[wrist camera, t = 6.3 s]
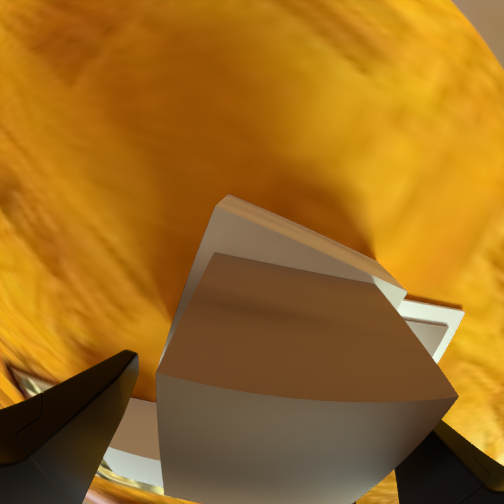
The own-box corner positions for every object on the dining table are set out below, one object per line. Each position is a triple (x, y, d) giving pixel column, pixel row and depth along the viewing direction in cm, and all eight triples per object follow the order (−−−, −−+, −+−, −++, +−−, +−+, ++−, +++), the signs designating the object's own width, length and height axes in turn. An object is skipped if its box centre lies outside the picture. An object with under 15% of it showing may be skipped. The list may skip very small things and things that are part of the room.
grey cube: (188, 442, 19) (176, 490, 14) (132, 430, 19) (114, 473, 14) (180, 406, 17) (163, 461, 13) (117, 393, 17) (92, 441, 13)
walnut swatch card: (415, 390, 16) (418, 395, 16) (333, 388, 16) (335, 393, 16) (462, 309, 14) (466, 313, 14) (378, 293, 14) (382, 297, 13)
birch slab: (303, 371, 16) (311, 420, 12) (178, 326, 15) (156, 371, 12) (374, 258, 14) (407, 292, 10) (229, 192, 13) (215, 206, 9)
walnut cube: (324, 396, 12) (346, 507, 6) (196, 378, 12) (164, 495, 6) (375, 284, 10) (458, 396, 4) (214, 252, 10) (156, 372, 4)
